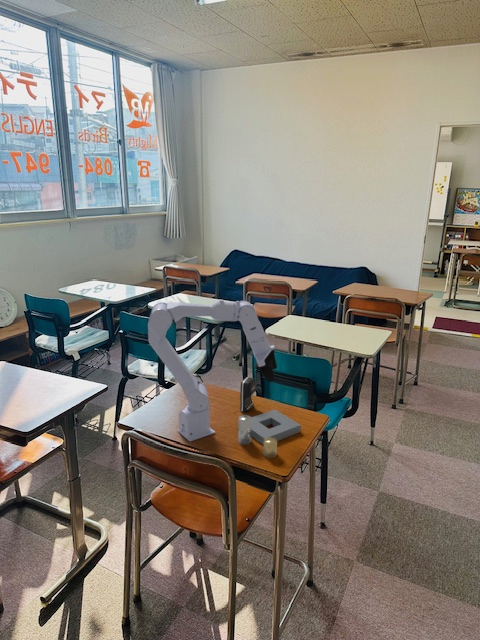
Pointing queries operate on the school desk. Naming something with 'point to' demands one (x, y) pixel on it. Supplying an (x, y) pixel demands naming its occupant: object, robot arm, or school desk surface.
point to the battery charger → (247, 394)
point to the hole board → (280, 431)
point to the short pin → (270, 447)
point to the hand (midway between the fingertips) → (273, 374)
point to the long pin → (244, 430)
